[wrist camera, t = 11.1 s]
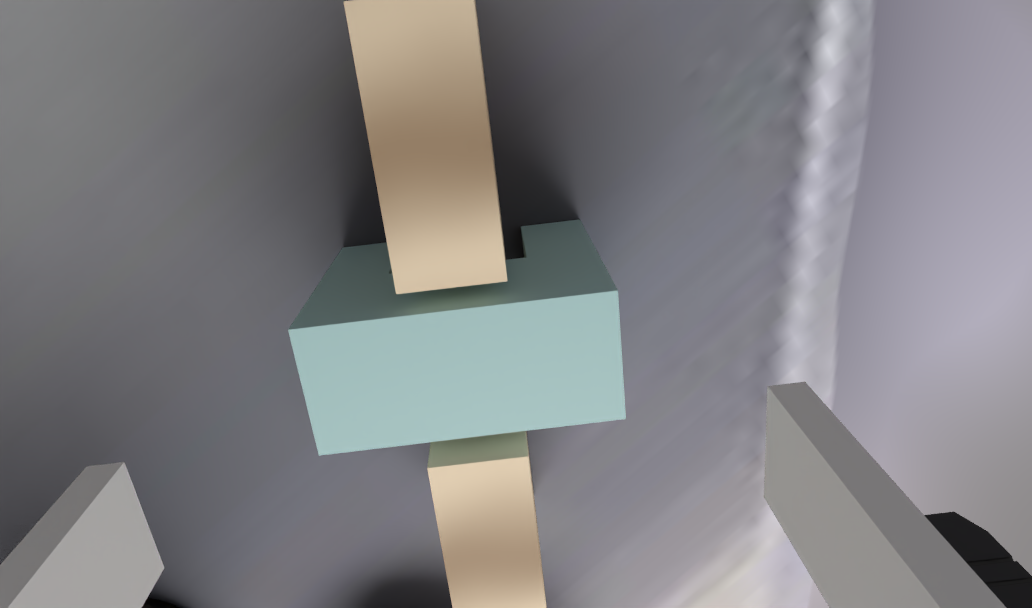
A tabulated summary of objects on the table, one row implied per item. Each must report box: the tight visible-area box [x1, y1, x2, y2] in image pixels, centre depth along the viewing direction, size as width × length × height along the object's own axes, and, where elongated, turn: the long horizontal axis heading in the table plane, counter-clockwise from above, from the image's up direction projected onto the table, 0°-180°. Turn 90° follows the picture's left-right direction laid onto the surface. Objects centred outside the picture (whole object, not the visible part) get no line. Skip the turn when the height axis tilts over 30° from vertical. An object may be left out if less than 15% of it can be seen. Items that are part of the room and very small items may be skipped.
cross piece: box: [288, 219, 626, 455], centre depth 24 cm, size 4×9×8 cm, turn 96°
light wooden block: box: [344, 0, 547, 608], centre depth 24 cm, size 20×3×8 cm, turn 6°
